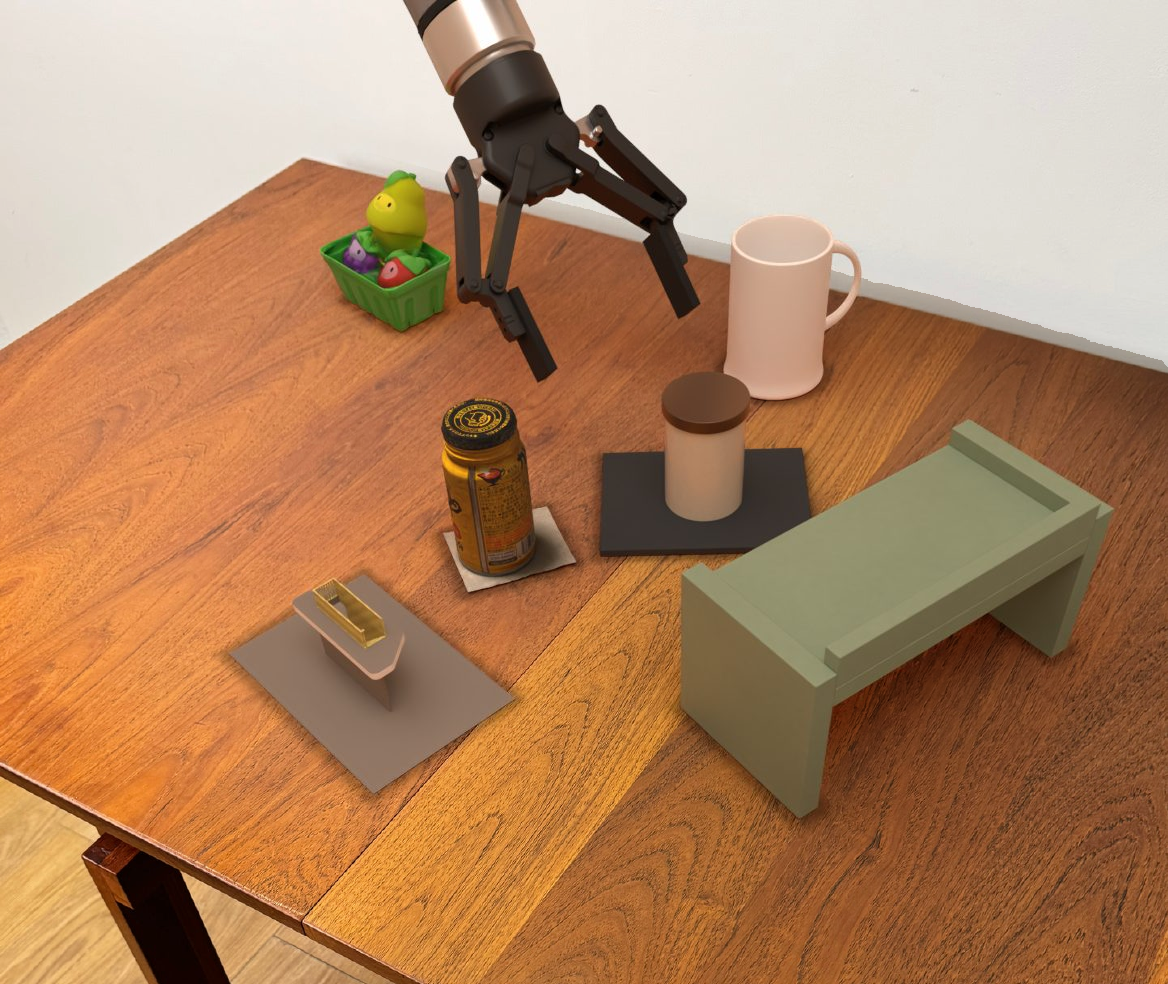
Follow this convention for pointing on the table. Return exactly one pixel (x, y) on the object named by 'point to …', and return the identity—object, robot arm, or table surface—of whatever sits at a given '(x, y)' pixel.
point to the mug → (782, 303)
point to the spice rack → (879, 597)
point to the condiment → (494, 499)
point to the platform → (369, 679)
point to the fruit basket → (392, 258)
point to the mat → (651, 528)
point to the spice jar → (704, 444)
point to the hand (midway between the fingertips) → (620, 343)
